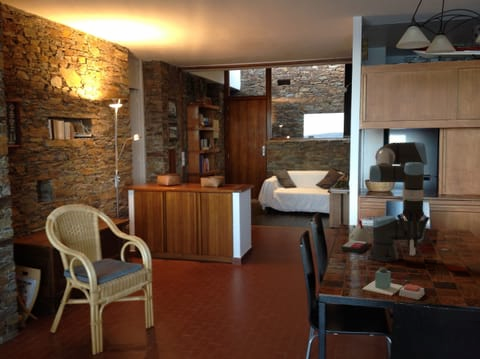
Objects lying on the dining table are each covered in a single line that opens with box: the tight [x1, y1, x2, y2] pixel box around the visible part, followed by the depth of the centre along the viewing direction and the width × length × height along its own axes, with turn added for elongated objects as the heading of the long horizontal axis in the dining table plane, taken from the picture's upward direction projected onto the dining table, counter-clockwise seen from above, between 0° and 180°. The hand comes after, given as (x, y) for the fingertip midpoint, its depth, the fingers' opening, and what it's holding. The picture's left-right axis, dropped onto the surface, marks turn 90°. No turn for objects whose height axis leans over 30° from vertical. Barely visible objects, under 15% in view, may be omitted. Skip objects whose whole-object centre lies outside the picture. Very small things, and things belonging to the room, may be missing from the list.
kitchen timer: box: [348, 219, 373, 247], centre depth 277 cm, size 14×14×15 cm
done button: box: [403, 283, 421, 292], centre depth 188 cm, size 5×5×2 cm
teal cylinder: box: [374, 267, 392, 290], centre depth 197 cm, size 5×5×8 cm
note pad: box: [362, 280, 404, 297], centre depth 197 cm, size 14×13×1 cm
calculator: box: [341, 240, 369, 254], centre depth 265 cm, size 11×4×15 cm
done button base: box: [398, 284, 425, 301], centre depth 188 cm, size 8×8×3 cm
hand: (412, 254), depth 187 cm, fingers closed
